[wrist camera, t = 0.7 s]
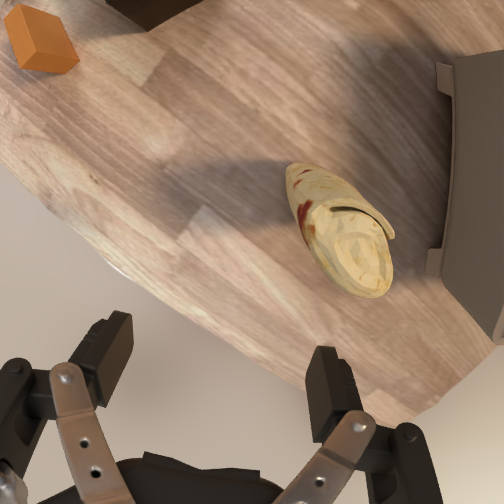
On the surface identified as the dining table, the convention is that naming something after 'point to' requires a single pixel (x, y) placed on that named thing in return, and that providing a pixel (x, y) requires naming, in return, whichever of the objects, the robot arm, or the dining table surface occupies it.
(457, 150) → the toaster
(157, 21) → the slot toaster
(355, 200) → the food model
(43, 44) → the orange slab
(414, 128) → the dining table surface
